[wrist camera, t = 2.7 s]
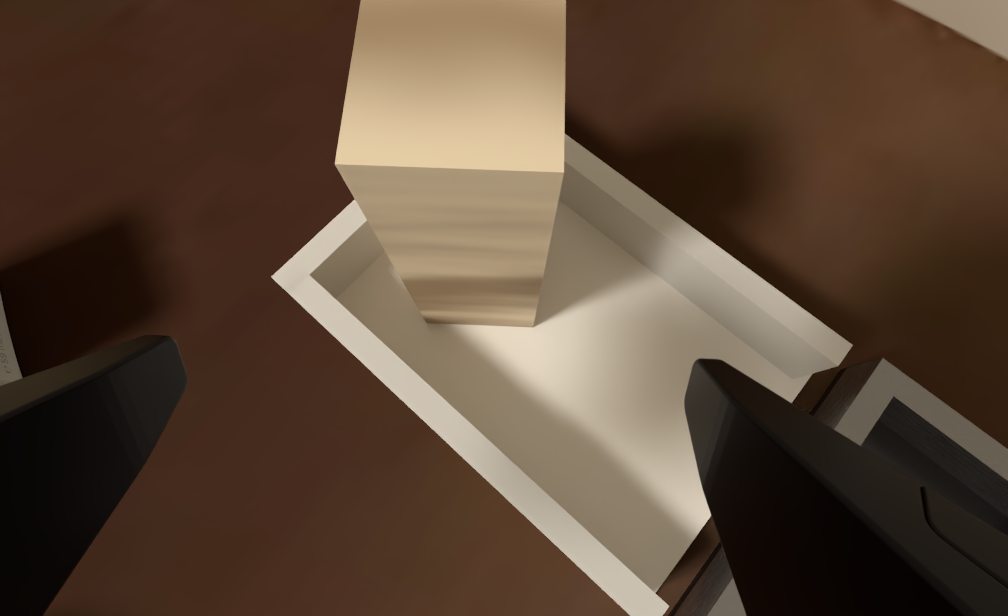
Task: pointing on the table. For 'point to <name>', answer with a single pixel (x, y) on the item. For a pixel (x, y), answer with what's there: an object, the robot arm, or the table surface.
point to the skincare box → (7, 353)
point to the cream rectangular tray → (577, 368)
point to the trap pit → (888, 461)
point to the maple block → (459, 148)
